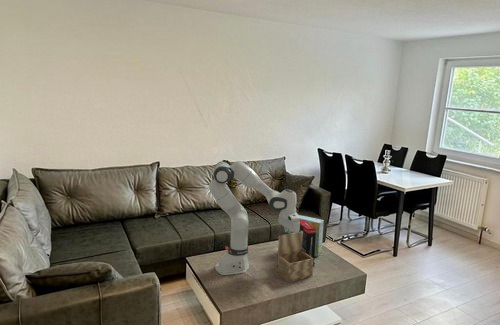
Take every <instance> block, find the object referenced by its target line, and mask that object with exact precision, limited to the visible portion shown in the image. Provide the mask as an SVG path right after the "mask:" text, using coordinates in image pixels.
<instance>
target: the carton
mask: <svg viewBox="0 0 500 325" xmlns="http://www.w3.org/2000/svg"><path fill="white" fill-rule="evenodd" d="M277 258H278V259H277V273H278V274H279V275H280V276H281V277H282V278H284V280H285V281H286V282H288V283H290V282H295V281H299V280H302V279H306V278H310V277H313V273H314V266H313V261H314V262H315V258H314V259H313V258H312V257H311V256H309V255H308V254H306V253H305V252H304V251H302V250H301V251H295V252H290V253H285V254H281V255H278V254H277Z"/></svg>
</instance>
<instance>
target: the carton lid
mask: <svg viewBox="0 0 500 325" xmlns="http://www.w3.org/2000/svg"><path fill="white" fill-rule="evenodd" d="M302 238H303V232H297V233H294V232H292V233H291V234H288V232H285V231H284V232H282V233H281V234H280V235H278V244H277V246H278V247H277V256H278V255H281V254H286V253H291V252H296V251H300V250H302Z"/></svg>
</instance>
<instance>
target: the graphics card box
mask: <svg viewBox="0 0 500 325" xmlns="http://www.w3.org/2000/svg"><path fill="white" fill-rule="evenodd" d="M299 222H300V230H299V232H303V238H302V251H304V252H305V253H306V254H308V255H309V256H311V257H312V258H313V259H314V261H313V267H314V266H315V257H316V256H315V239H316V229H315V228H314V227H313V226H312V225H310V224H309V223H308V222H306V221H305V220H299ZM300 251H301V250H300Z"/></svg>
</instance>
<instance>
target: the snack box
mask: <svg viewBox="0 0 500 325" xmlns="http://www.w3.org/2000/svg"><path fill="white" fill-rule="evenodd" d="M298 215H299V216H300V220H305V221H306V222H308V223H309V224H310V225H312V226H313V227H314V228H315V229H316V239H315V256H314V257H316V258H318V257H319V256H320V255H321V254H322V253H323V252H322V251H323V238H324V235H323V234H324V222H325V221H324V219H320V218H316V217H315V218H314V217H310V216H306V215H300V214H298Z"/></svg>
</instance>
